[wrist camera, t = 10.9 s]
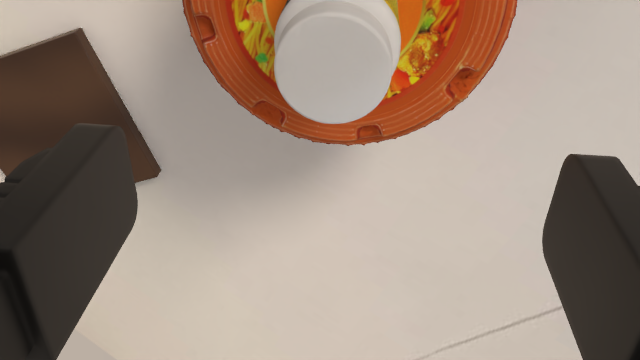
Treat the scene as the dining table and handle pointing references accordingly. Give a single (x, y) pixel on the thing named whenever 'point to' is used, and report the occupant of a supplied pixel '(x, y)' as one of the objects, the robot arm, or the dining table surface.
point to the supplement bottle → (336, 56)
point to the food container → (406, 82)
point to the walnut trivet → (60, 101)
